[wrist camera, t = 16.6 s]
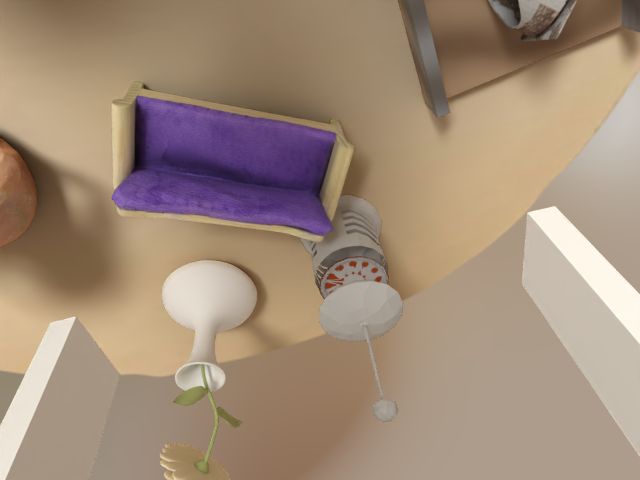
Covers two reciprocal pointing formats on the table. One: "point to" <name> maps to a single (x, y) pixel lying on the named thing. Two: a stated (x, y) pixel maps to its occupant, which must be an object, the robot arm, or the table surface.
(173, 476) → the flower in vase
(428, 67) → the square tray
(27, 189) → the ceramic jug
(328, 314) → the french press
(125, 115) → the toy sofa
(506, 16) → the caster wheel
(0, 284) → the table surface
